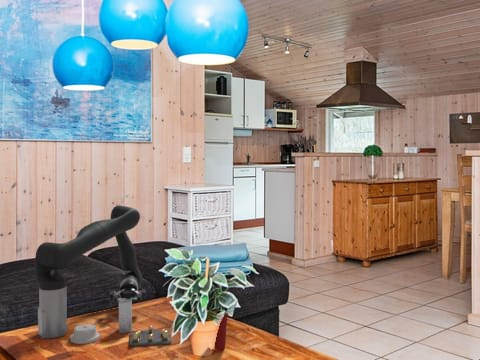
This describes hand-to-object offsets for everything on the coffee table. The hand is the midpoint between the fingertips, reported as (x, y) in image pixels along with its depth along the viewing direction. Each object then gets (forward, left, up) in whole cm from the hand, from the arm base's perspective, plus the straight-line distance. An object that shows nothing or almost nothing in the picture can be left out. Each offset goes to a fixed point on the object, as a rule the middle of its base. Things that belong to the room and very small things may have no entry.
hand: (127, 300), depth 197 cm
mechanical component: (-20, -10, -8) cm, 24 cm away
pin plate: (-1, -23, -8) cm, 25 cm away
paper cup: (+14, -43, -8) cm, 46 cm away
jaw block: (-5, -10, -8) cm, 14 cm away
